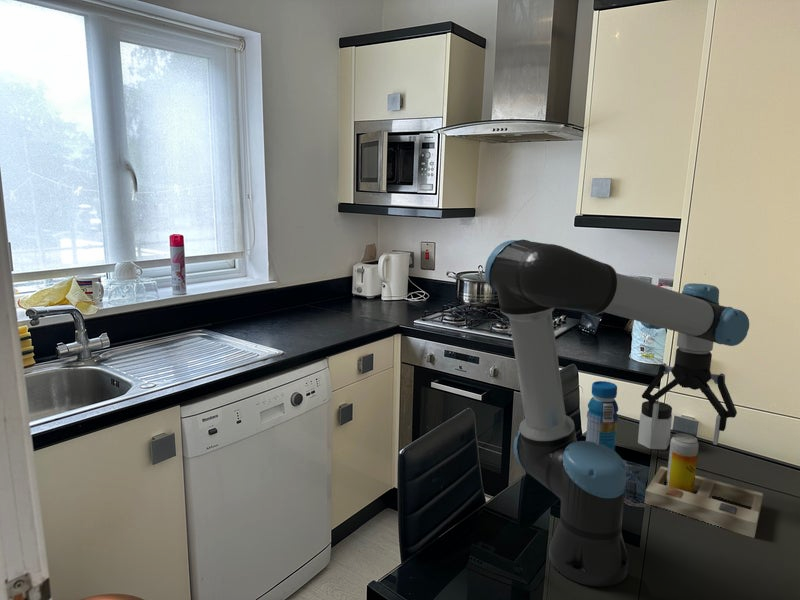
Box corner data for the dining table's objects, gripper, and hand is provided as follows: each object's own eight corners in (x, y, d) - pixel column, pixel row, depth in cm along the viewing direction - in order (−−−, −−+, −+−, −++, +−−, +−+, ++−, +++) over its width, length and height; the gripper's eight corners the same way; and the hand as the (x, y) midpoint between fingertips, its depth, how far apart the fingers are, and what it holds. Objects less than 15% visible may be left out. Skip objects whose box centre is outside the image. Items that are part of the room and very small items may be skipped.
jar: (664, 438, 171) (667, 401, 169) (674, 450, 163) (678, 411, 161) (633, 437, 172) (636, 400, 170) (642, 449, 164) (645, 410, 162)
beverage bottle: (580, 451, 162) (584, 385, 158) (590, 441, 169) (594, 377, 165) (610, 459, 157) (615, 391, 153) (619, 449, 164) (624, 383, 160)
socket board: (644, 504, 135) (645, 489, 134) (659, 478, 147) (660, 464, 146) (754, 538, 122) (756, 522, 121) (761, 506, 134) (763, 492, 133)
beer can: (696, 502, 135) (702, 444, 133) (669, 499, 137) (674, 442, 134) (688, 489, 141) (694, 433, 139) (662, 487, 143) (668, 431, 140)
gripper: (757, 356, 128) (745, 443, 132) (642, 338, 142) (634, 417, 146) (754, 363, 122) (741, 454, 126) (634, 343, 137) (625, 426, 140)
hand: (683, 434), depth 136 cm, fingers open, 13 cm apart
